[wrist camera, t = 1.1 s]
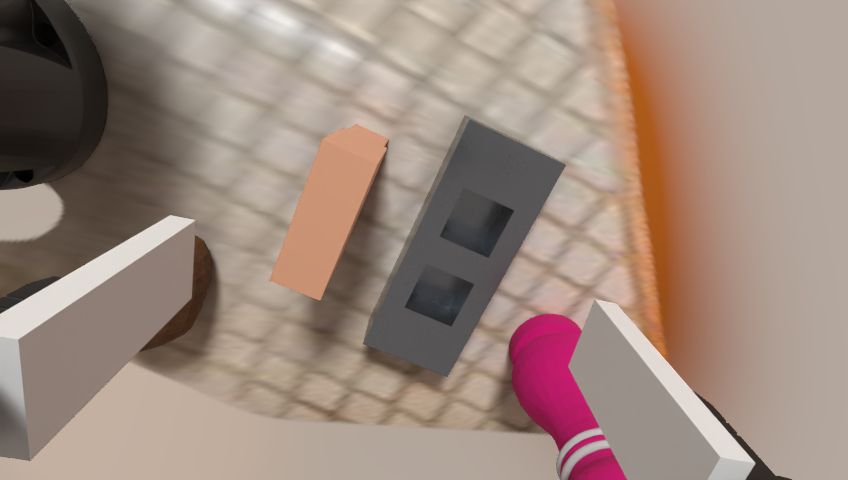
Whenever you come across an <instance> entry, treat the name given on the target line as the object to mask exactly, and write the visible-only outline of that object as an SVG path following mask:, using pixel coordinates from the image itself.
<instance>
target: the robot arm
mask: <svg viewBox="0 0 848 480" xmlns="http://www.w3.org/2000/svg"><path fill="white" fill-rule="evenodd" d="M106 114H107V89H106V82H105V77H104V72H103V69H102V65H101V62H100V59H99V56H98V54H97V51H96V49H95V46H94V44H93V42H92V40H91V38H90V36H89V35H88V33H87V31H86V29H85V28H84V26H83V25H82V23H81V21H80V20H79V19H78V17H77V16H76V14H75V13H74V12H73V11H72V9H71V8H70V7H69V6H68V4H67V3H66V2H65V1H64V0H0V190H10V189H19V188H25V187H30V186H34V185H37V184H41V183H45V182H49V181H53V180H56V179H59V178H61V177H63V176H65V175H67V174H69V173H71V172H72V171H74V170H75V169H77V168H78V167H79V166H81V165H82V164H83V163H84V162H85V161H86V160H87V159H88V157H89V156H90V155H91V154H92V152H93V151H94V149H95V147H96V146H97V144H98V142H99V140H100V138H101V135H102V132H103V129H104V125H105V120H106ZM195 225H196V220H192V219H187V218H182V217H177V216H172V215H170V216H168V217H166V218H165V219H163V220H161V221H159V222H158V223H156V224H154V225H153V226H151V227H149V228H147V229H146V230H144V231H142V232H140V233H139V234H137V235H135V236H134V237H132V238H130V239H128V240H127V241H125V242H123V243H122V244H120V245H118V246H116V247H115V248H113V249H111V250H109V251H108V252H106V253H104V254H103V255H101V256H99V257H97V258H96V259H94V260H92V261H91V262H89V263H87V264H85V265H84V266H82V267H80V268H78V269H77V270H75V271H73V272H72V273H70V274H68V275H66V276H65V277H63V278H60V277H55V276H53V277H50V278H46V279H43V280H40V281H36V282H33V283H30V284H27V285H25V286H23V287H21V288H19V289H18V290H16V291H14V292H12V293H10V294H8V295H7V297H6V298H4V297H3V298H1V299H0V456H1V457H8V458H15V459H22V460H29V461H31V459H33V458H34V456H35V455H36V454H37V453H38V452H39V451H40V450H41V449H42V448H43V447H44V446H45V445H46V444H47V443H48V442H49V441H50V440H51V439H52V438H53V437H54V436H55V435H56V434H57V433H58V432H59V431H60V430H61V429H62V428H63V427H64V426H65V425H66V424H67V423H68V422H69V421H70V420H71V419H72V418H73V417H74V416H75V415H76V414H77V413H78V412H79V411H80V410H81V409H82V408H83V407H84V406H85V405H86V404H87V403H88V402H89V401H90V400H91V399H92V398H93V397H94V396H95V395H96V394H97V393H98V392H99V391H100V390H101V389H102V388H103V387H104V386H105V385H106V383H108V382H109V381H110V380H111V379H112V378H113V377H114V376H115V375H116V374H117V373H118V372H119V371H120V370H121V369H122V368H123V367H124V366H125V365H126V363H128V362H129V361H130V360H131V359H132V358H133V357H134V356H135V355H136V354H137V353H138V352H139V351H140V350H141V349H142V348H143V347H144V346H145V345H146V344H147V343H148V342H149V341H150V340H151V339H152V338H153V337H154V336H155V335H156V334H157V333H158V332H159V331H160V330H161V329H162V328H163V327H164V325H165V324H166V323H167V322H168V321H169V320H170V319H171V318H172V317H173V316H174V315H175V314H176V313H177V312H178V311H179V310H180V309H181V308H182V307H183V306H184V305H185V304H186V303H187V302H188V301H189V300H190V299H191V298H192V283H193V263H194V244H195ZM568 367H569V369H570V371H571V373H572V375H573V377H574V379H575V381H576V383H577V385H578V387H579V389H580V390H581V392H582V394H583V396H584V398H585V400H586V402H587V404H588V406H589V408H590V410H591V412H592V413H593V415H594V417H595V419H596V421H597V423H598V425H599V427H600V429H601V431H602V433H603V435H604V436H605V438H606V440H607V442H608V444H609V446H610V448H611V450H612V452H613V454H614V456H615V457H616V459H617V461H618V463H619V465H620V467H621V469H622V471H623V473H624V475H625V477H626V479H627V480H792V479H789V478H785V477H781V476H775V475H774V474H773V473H772V471H771V470H770V469H769V468H768V467H767V466H766V465H765V464H764V462H763V461H762V460H761V459H760V458H759V457H758V456H757V455H756V454H755V452H754V451H753V450H752V449H751V448H750V447H749V446H748V445H747V443H746V442H745V441H744V440H743V439H742V438H741V437H740V436H737V432H736V431H735V430H734V429H733V428H732V427H731V426H730V425H729V423H726V420H725V419H724V418H723V417H722V416H721V414H720V413H719V412H718V411H717V410H716V409H715V408H714V407H713V406H712V405H711V404H710V403H709V402H707V401H706V400H705V399H703V398H702V397H701V396H699V395H698V394H697V393H696V392H694V391H692V390H691V389H690V388H689V386H688V385H687V384H686V383H685V382H684V381H683V380H682V379H681V377H680V376H679V375H678V374H677V373H676V372H675V370H674V369H673V368H672V367H671V366H670V365H669V364H668V362H667V361H666V360H665V359H664V358H663V357H662V356H661V354H660V353H659V352H658V351H657V350H656V349H655V348H654V346H653V345H652V344H651V343H650V342H649V341H648V339H647V338H646V337H645V336H644V335H643V334H642V333H641V331H640V330H639V329H638V328H637V327H636V326H635V325H634V323H633V322H632V321H631V320H630V319H629V318H628V317H627V315H626V314H625V313H624V312H623V311H622V310H621V309H620V307H619V306H618V305H617V304H616V303H611V302H606V301H601V300H596V299H595V300H594V303H593V305H592V308H591V310H590V313H589V315H588V318H587V320H586V323H585V325H584V328H583V330H582V333H581V335H580V338H579V340H578V343H577V345H576V348H575V350H574V353H573V355H572V358H571V361H570V363H569V366H568Z"/></svg>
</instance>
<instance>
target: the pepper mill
mask: <svg viewBox="0 0 848 480" xmlns="http://www.w3.org/2000/svg"><path fill="white" fill-rule="evenodd" d="M581 333H582V331H581V329H580V328H579V327H578V325H577V324H576V323H575V322H573V321H572V320H570V319H569V318H567V317H564V316H561V315H556V314H544V315H539V316H536V317H533V318H531V319H529V320H527V321H526V322H524V323H523V324H522V325H520V326H519V328H518V329H517V330H516V331H515V333H514V334H513V336H512V339H511V342H510V357H511V360H512V363H513V372H512V383H513V388H514V391H515V393H516V396H517V398H518V400H519V402H520V404H521V406H522V407H523V409H524V410H525V411H526V412H527V414H528V415H529V416H530V417H531V418H532V419H533V420H534V421H535V422H536V423H537V424H538V425H539V426H541V427H542V428H543V429H544V430H545V431H547V432H548V433H549V434H550V435H551V436H552V437H553V438H554V440H555V442H556V444H557V446H558V449H559V455H558V458H557V464H556V466H557V473H558V476H559V478H560V480H627V479H626V477H625V475H624V473H623V471H622V469H621V467H620V465H619V463H618V461H617V459H616V457H615V456H614V454H613V452H612V450H611V448H610V446H609V444H608V442H607V440H606V438H605V436H604V435H603V433H602V431H601V429H600V427H599V425H598V423H597V421H596V419H595V417H594V415H593V413H592V412H591V410H590V408H589V406H588V404H587V402H586V400H585V398H584V396H583V394H582V392H581V390H580V389H579V387H578V385H577V383H576V381H575V379H574V377H573V375H572V373H571V371H570V369H569V367H568V366H569V363H570V361H571V358H572V355H573V353H574V350H575V348H576V345H577V343H578V340H579V338H580V335H581Z"/></svg>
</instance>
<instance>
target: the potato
mask: <svg viewBox="0 0 848 480" xmlns="http://www.w3.org/2000/svg"><path fill="white" fill-rule="evenodd" d="M210 280H211V258H210V251H209V250H208V248H207V246H206V244H205V242H204V241H203V240H202V239H200V238H199V237H197V236H196V235H195V244H194V263H193V283H192V298H191V299H190V300H189V301H188V302H187V303H186V304H185V305H184V306H183V307H182V308H181V309H180V310H179V311H178V312H177V313H176V314H175V315H174V316H173V317H172V318H171V319H170V320H169V321H168V322H167V323H166V324H165V325H164V327H163V328H162V329H161V330H160V331H159V332H158V333H157V334H156V335H155V336H154V337H153V338H152V339H151V340H150V341H149V342H148V343H147V344H146V345H145V346H144V347H143V348H142V349H141V350H140V351H144V350H148V349H152V348H155V347H157V346H160V345H163V344H165V343H167V342H169V341H172V340H174V339H176V338H178V337H180V336H181V335H183V334H185V333H186V332H187V331H188V330H189V329H190V328H191V327H192V325H193V323H194V321H195V319H196V317H197V315H198V313H199V311H200V309H201V307H202V304H203V302H204V299H205V297H206V294H207V290H208V287H209V284H210ZM140 351H139V352H140Z"/></svg>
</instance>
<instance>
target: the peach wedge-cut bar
mask: <svg viewBox="0 0 848 480" xmlns="http://www.w3.org/2000/svg"><path fill="white" fill-rule="evenodd" d="M388 140H389V139H388V138H385V137H383V136H381V135H379V134H377V133H374V132H372V131H370V130H368V129H366V128H364V127H361V126H359V125H357V124H356V125H354V126H353V127H351V128H349V129H345V128H342V129H340V130H339V131H337V132H335V133H333V134H331V135H329V136H327V137H325V138H323V139H322V141H321V144H320V147H319V149H318V152H317V155H316V157H315V160H314V163H313V165H312V168H311V171H310V173H309V176H308V179H307V181H306V184H305V187H304V190H303V192H302V195H301V198H300V200H299V203H298V206H297V208H296V211H295V214H294V216H293V219H292V222H291V224H290V227H289V230H288V232H287V235H286V238H285V240H284V243H283V246H282V248H281V251H280V254H279V256H278V259H277V262H276V264H275V267H274V270H273V272H272V275H271V278H270V280H269V281H272V282H274V283H277V284H279V285H282V286H284V287H287V288H289V289H292V290H294V291H297V292H299V293H302V294H304V295H307V296H309V297H312V298H314V299H317V300H319V301H320V300H321V298H322V296H323V294H324V292H325V290H326V288H327V286H328V284H329V282H330V280H331V278H332V276H333V274H334V272H335V270H336V267H337V265H338V263H339V261H340V259H341V257H342V254H343V252H344V250H345V247H346V245H347V242H348V240H349V238H350V235H351V233H352V231H353V228H354V226H355V224H356V221H357V219H358V216H359V214H360V212H361V209H362V207H363V205H364V202H365V200H366V198H367V195H368V193H369V191H370V188H371V186H372V183H373V181H374V179H375V176H376V174H377V172H378V169H379V167H380V165H381V162H382V160H383V157H384V155H385V153H386V150H387V148H386V145H387V142H388Z"/></svg>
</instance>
